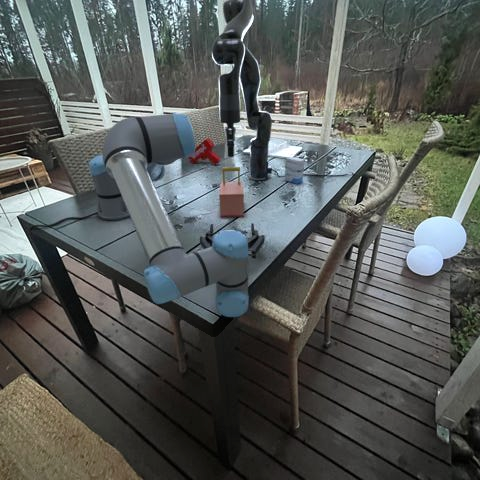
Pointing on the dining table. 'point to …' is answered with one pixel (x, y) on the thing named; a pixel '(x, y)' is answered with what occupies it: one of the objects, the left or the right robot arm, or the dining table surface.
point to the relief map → (280, 150)
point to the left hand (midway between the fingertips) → (232, 227)
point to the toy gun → (205, 152)
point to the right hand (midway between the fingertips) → (230, 153)
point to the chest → (231, 206)
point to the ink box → (294, 170)
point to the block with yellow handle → (231, 185)
